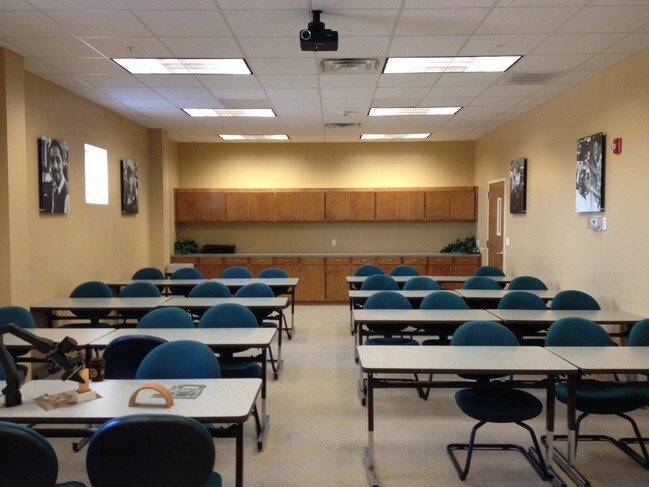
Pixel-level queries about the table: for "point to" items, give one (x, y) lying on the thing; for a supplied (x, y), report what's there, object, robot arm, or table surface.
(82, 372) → the tan cylinder
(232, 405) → the table surface
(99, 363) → the coffee cup
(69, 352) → the robot arm
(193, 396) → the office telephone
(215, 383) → the table surface
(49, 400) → the cable board
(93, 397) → the end holder
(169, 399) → the arch
